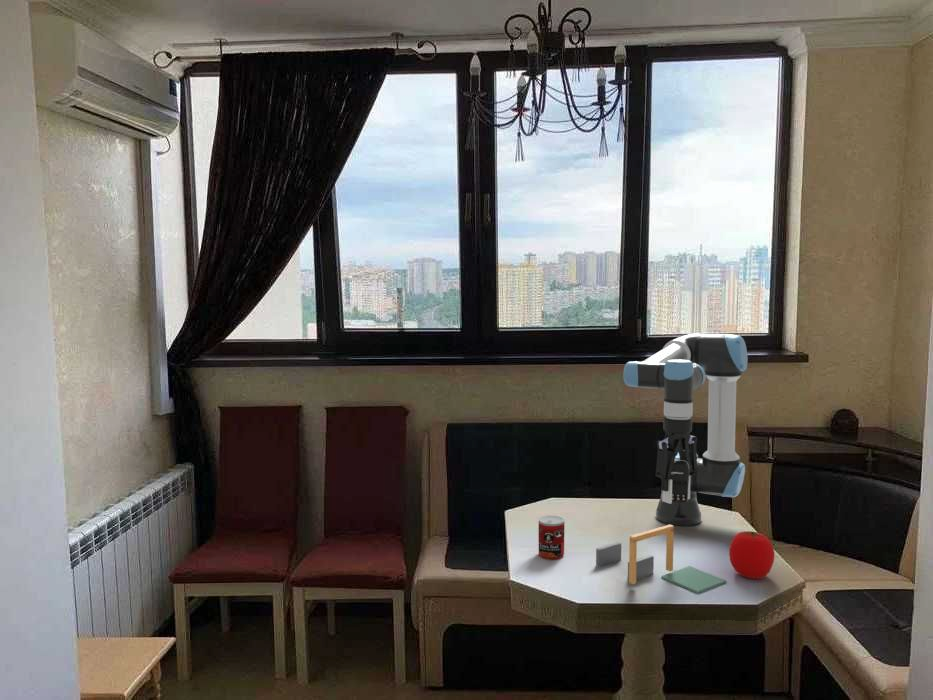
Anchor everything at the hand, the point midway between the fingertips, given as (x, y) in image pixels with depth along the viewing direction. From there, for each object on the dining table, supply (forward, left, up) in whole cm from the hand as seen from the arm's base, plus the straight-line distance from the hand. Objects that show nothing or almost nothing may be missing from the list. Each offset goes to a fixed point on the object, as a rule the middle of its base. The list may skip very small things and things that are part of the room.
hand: (676, 499), depth 189 cm
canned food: (+17, -32, -22) cm, 42 cm away
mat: (-3, +4, -22) cm, 23 cm away
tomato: (-19, +11, -22) cm, 31 cm away
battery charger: (0, 0, -1) cm, 1 cm away
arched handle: (+7, -2, -21) cm, 22 cm away
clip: (+7, -12, -22) cm, 26 cm away
